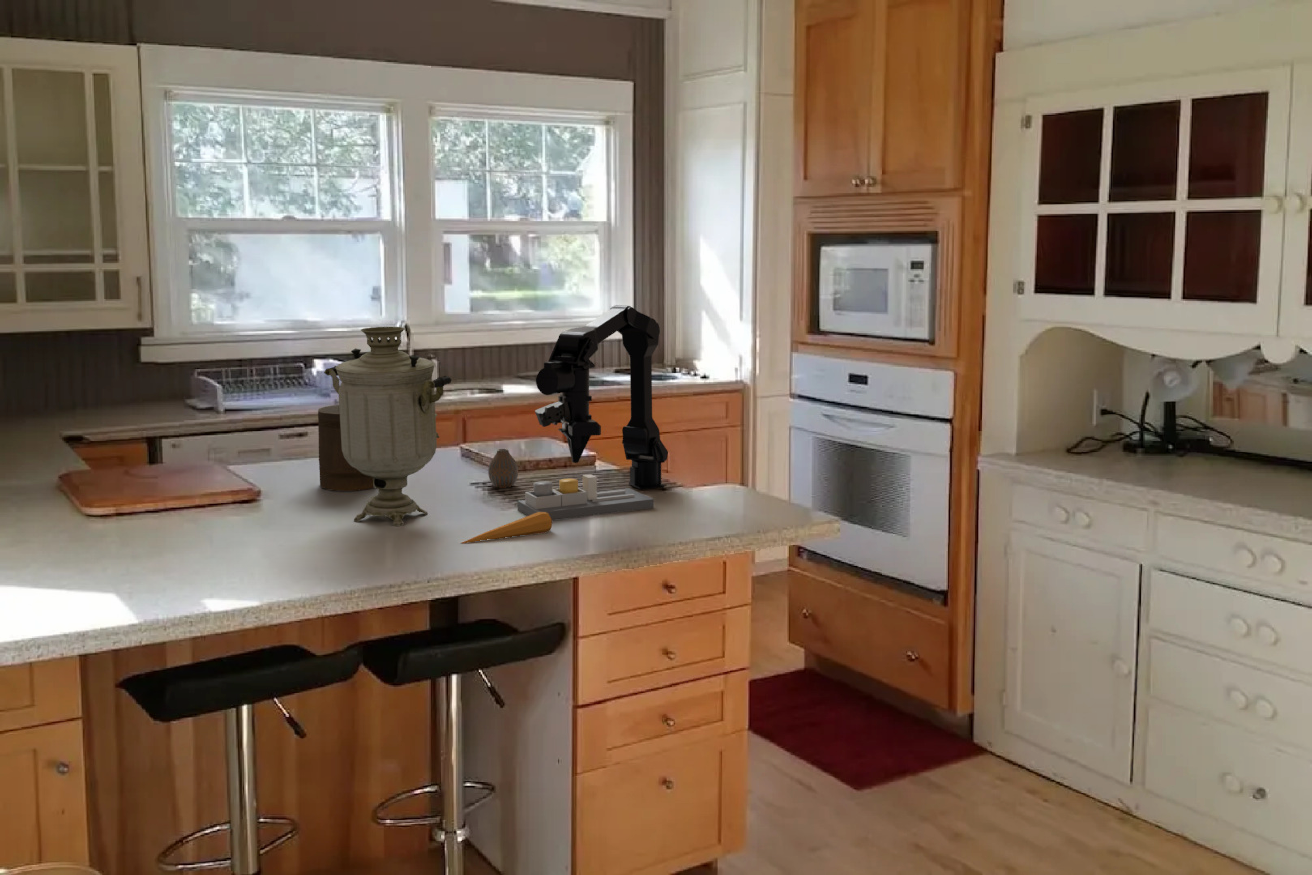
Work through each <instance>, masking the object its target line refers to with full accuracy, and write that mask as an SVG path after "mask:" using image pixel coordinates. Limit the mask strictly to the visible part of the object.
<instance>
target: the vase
mask: <svg viewBox="0 0 1312 875" xmlns="http://www.w3.org/2000/svg"><path fill="white" fill-rule="evenodd" d="M487 471H488V472H487V473H488V479H489V481H490V483H491V484H492V485H493V487H495V488H497V487H499V488H498V489H507V488H506V487H509V488H511V486H512V487H513V486H514V485H515V484H516V482H517V479H518V476H519V468H518V464H517V461H516V460H515V458H514V457H513V456H512V454H511V453H510V451H509V449H507V448H500V449H497V451H496V452H495V455H494V456H493V457H492V459H490V462H489V464H488V470H487Z"/></svg>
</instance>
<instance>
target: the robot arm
mask: <svg viewBox="0 0 1312 875" xmlns="http://www.w3.org/2000/svg"><path fill="white" fill-rule="evenodd" d="M660 329H661V328H660V325H659V323H658V322H657V321H656V320H655V318H652V317H651V316H648V315H647V314H644V313H642V312H641V311H638V310H636V308H634V307H632V306H630V305H620V304H619V305H618V304H616V305H615V304H614V305H613V306H610V308H609V310H607V311H606V312H604V313H603V314H601V315H599V316H598V317H596V318H595V319H593V320H592V321H590V322H589V323H587V324H585V325H583V326H581V327H579V326H578V327H572V328H569V329H565V330H563V331H562V332H560V334H559V335H558V338H557V340H556V342H555V345H554V346H553V347H554V348H553V349H552V352H551V355H550V357H549V358H548V361H544V363H543V368H541V369H540V370H539V371H538V373H537V375H536V377H535V385H536V387H537V390H538V391H539V392H540V393H541V394H543V395H545V396H551V395H556V394H559V395H558V401H557V402H556V401H555V402H553V403H549V404H548V405H547V404H546V405H545V406H542V407H540V408H537V409H535V410H534V413H535V416H536V418H537V421H538V423H539V425H540V426H542V427H544V428H545V427H549V426H551V424H552V425H554V426H558V424H561V426H562V427H561V428H558V431H559V432H560V433H561V434H562V435H564V436H565V437H566V441H567V444H568V449H569V453H570V457H571V461H572V463H574V464H578V463H579V462H580V460H581V457H582V455H583V453H584V452H585V448H586V446H587V444H589V441H590V439H591V437H594V436H601V435H602V425H600V424H599V423H598V422H597V421H596V420H594V419H592V418H593V417H592V414H590V402H592V399H593V398H592V395H590V369H594V368H595V366H596V364H594V362H592V361H591V359H590V358H592V356H593V355H594V354H595V353H596V352H598V350H599V345H600V343H602V342H603V341H605V340H606V339H608V338H609V337H611V336H612V335H614V334H615V333H616V332H617V333H619V334H620V335H621V340H622V346H623V347H624V349H625V351H626V352H627V354H628V356H629V367H630V368H629V378H630V379H629V380H630V419H629V421H628V423H627V425H626V426H625V425H624V426H623V427H622V431H621V432H622V441H621V444H622V446H623V450H624V454H625V456H624V457H625V458H626V460H627V461H629V460H630V461H631V466H630V467H629V482H628V485H629V486H632V487H634V488H637V489H638V490H647V489H648V490H649V489H654V488H664V487H665V484H664V483H662V464H663V463H665V462H667V460H668V456H669V455H668V454H669V451H668V449H667V448H666V446H665V445H664V443H663V442H662V440H661V434H660V428H659V426H658V425H657V423H656V422H655V420H654V417H653V387H652V386H653V380H652V379H653V378H652V376H653V373H652V372H653V371H652V370H653V369H652V366H653V365H652V364H653V363H652V360H653V359H652V356H653V354H654V352H655V351H656V349H657V347H658V346H659V340H660V339H659V338H660V333H661V332H660Z"/></svg>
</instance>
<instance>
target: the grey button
mask: <svg viewBox="0 0 1312 875" xmlns="http://www.w3.org/2000/svg"><path fill="white" fill-rule="evenodd" d="M532 484H533V491H534V496H536V497H541V496H550V495H552V489H553V482H552V481H548V480H547V481H546V480H544V481H541V480H540V481H535V482H533V483H532Z"/></svg>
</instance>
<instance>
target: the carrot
mask: <svg viewBox="0 0 1312 875" xmlns="http://www.w3.org/2000/svg"><path fill="white" fill-rule="evenodd" d="M552 528H553V520H552V518H551V517H550V516H549V514H548V513H546V512H537V513H534V514H532V515H529V516H528V515H526V516H525V517H522V518H519V519H516V520H514V521H511V522H509V523H506V524H504V525H501V526H498V527H496V528H493V529H490V530H488V531H485V532H483V533H480V534H478V535H475V536H473V537H471V538H469V539H467V540H465V541H462V542H461V543H462V544H468V543H467V542H471V543H476V542H475V541H480V540H487V539H495V540H500V539H499V538H503V539H506V538H505V537H510V538H513V537H512V536H517V537H521V536H520V535H525V536H530V535H531V534H532V535H537V534H538V533H539V534H544V533H545V532H546V533H548V532H549V531H551V530H552ZM532 535H531V536H532ZM480 542H481V541H480Z"/></svg>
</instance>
